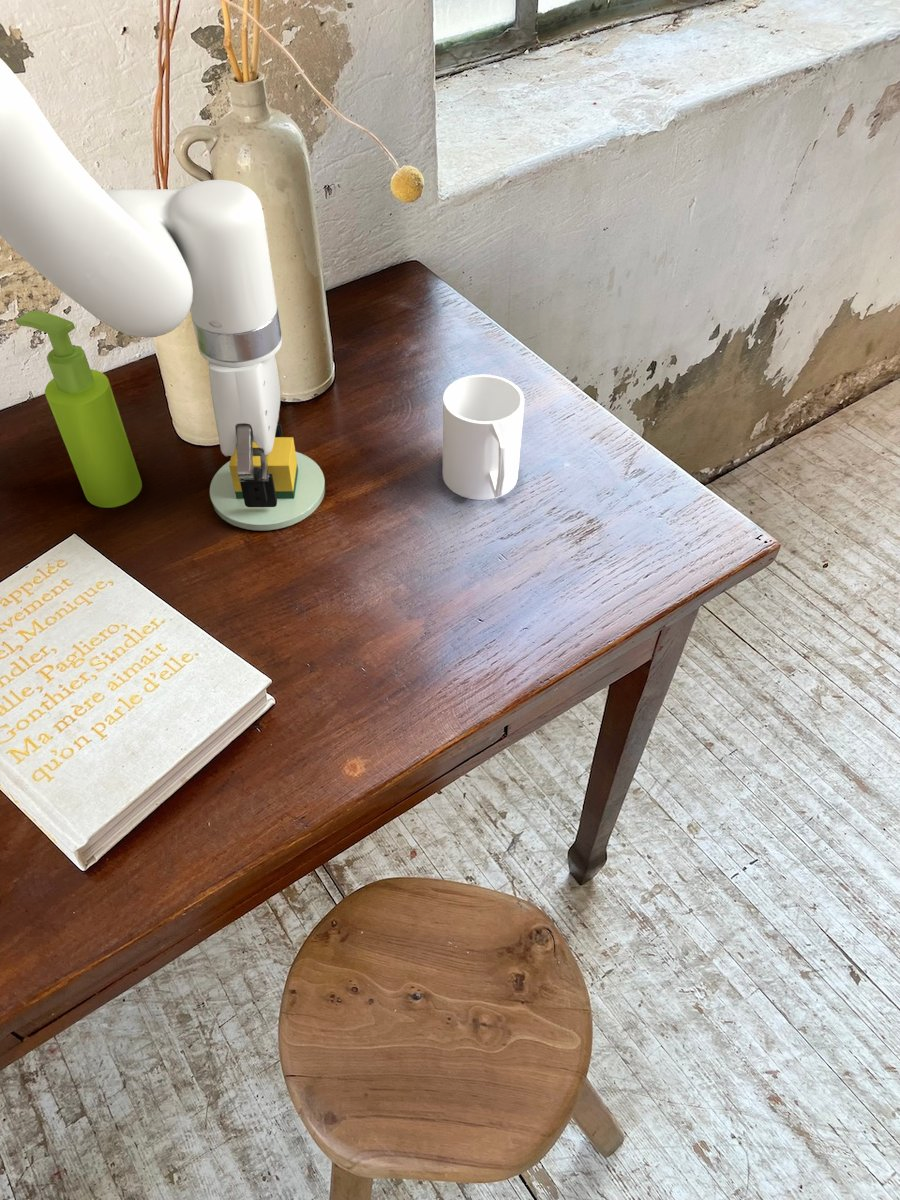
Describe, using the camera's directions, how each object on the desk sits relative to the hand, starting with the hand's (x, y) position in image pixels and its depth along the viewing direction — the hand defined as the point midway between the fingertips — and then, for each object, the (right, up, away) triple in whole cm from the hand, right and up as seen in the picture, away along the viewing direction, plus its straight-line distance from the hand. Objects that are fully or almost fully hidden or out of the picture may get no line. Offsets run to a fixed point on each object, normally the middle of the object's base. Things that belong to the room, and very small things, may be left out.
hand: (265, 478), depth 94 cm
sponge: (0, -1, +1) cm, 1 cm away
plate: (0, -1, +2) cm, 2 cm away
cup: (+23, -1, +3) cm, 23 cm away
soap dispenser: (-17, -1, +2) cm, 17 cm away
